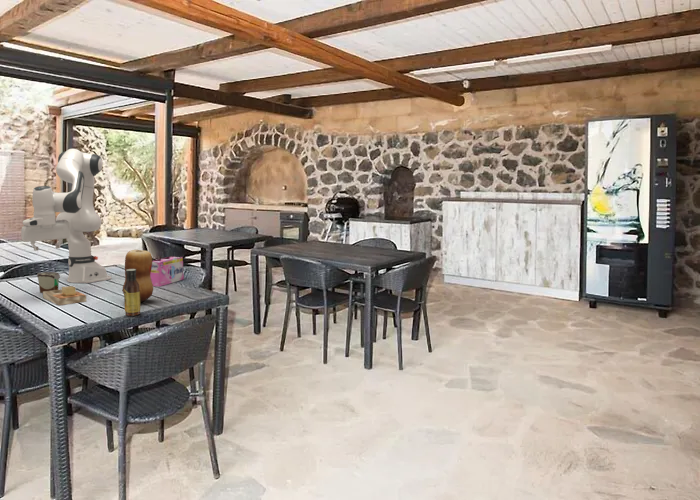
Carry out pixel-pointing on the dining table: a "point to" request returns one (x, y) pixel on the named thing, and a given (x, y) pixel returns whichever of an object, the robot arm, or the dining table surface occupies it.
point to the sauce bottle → (131, 294)
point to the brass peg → (68, 291)
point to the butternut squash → (140, 271)
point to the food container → (48, 281)
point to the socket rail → (58, 299)
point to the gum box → (166, 270)
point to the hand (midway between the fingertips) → (47, 249)
